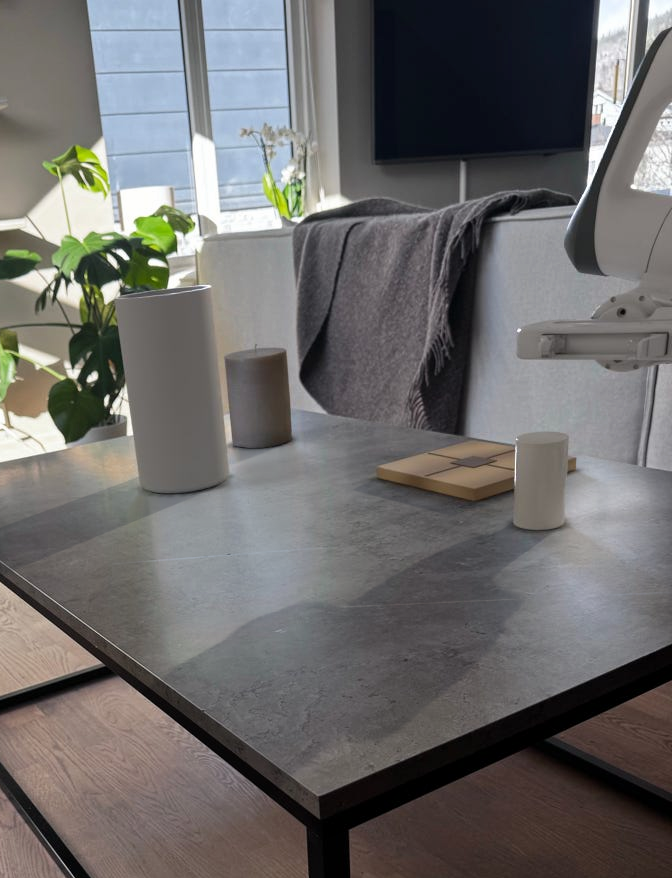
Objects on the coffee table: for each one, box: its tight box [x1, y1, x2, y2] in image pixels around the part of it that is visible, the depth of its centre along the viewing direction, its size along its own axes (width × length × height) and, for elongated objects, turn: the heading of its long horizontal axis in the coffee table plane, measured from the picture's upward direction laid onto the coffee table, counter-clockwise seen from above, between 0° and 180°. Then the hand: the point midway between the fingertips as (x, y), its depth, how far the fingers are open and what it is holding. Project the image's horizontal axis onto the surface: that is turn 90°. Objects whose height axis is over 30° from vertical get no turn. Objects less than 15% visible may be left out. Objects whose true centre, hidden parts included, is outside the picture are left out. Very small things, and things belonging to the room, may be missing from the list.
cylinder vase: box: [113, 285, 230, 494], centre depth 122 cm, size 12×12×25 cm
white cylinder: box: [512, 431, 570, 531], centre depth 94 cm, size 5×5×9 cm
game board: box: [375, 439, 577, 502], centre depth 115 cm, size 17×17×2 cm
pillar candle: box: [223, 343, 293, 449], centre depth 142 cm, size 10×10×15 cm
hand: (587, 351), depth 97 cm, fingers open, 8 cm apart
